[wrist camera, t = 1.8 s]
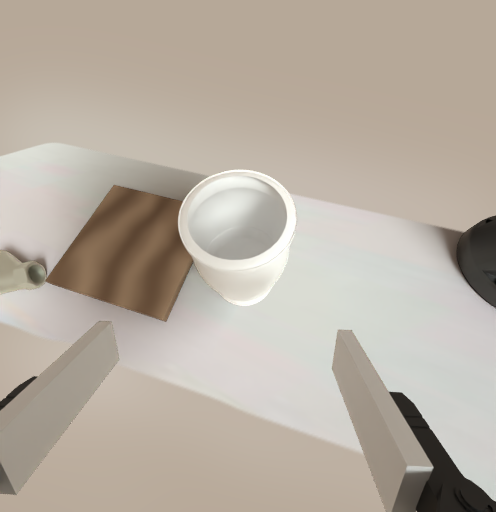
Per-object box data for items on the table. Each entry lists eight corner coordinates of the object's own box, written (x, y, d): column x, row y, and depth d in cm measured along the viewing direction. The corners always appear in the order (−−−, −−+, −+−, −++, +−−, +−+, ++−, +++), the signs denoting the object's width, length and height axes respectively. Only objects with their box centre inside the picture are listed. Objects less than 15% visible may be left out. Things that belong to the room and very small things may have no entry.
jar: (214, 242, 36) (190, 165, 23) (281, 246, 36) (298, 171, 22) (202, 310, 32) (162, 265, 18) (279, 317, 31) (297, 276, 18)
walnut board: (214, 214, 39) (212, 208, 37) (166, 321, 31) (161, 319, 30) (118, 191, 41) (113, 185, 40) (53, 284, 34) (44, 281, 33)
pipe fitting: (0, 262, 37) (-14, 303, 33) (-26, 249, 33) (-45, 293, 30) (54, 251, 37) (45, 290, 34) (33, 237, 34) (21, 278, 30)
